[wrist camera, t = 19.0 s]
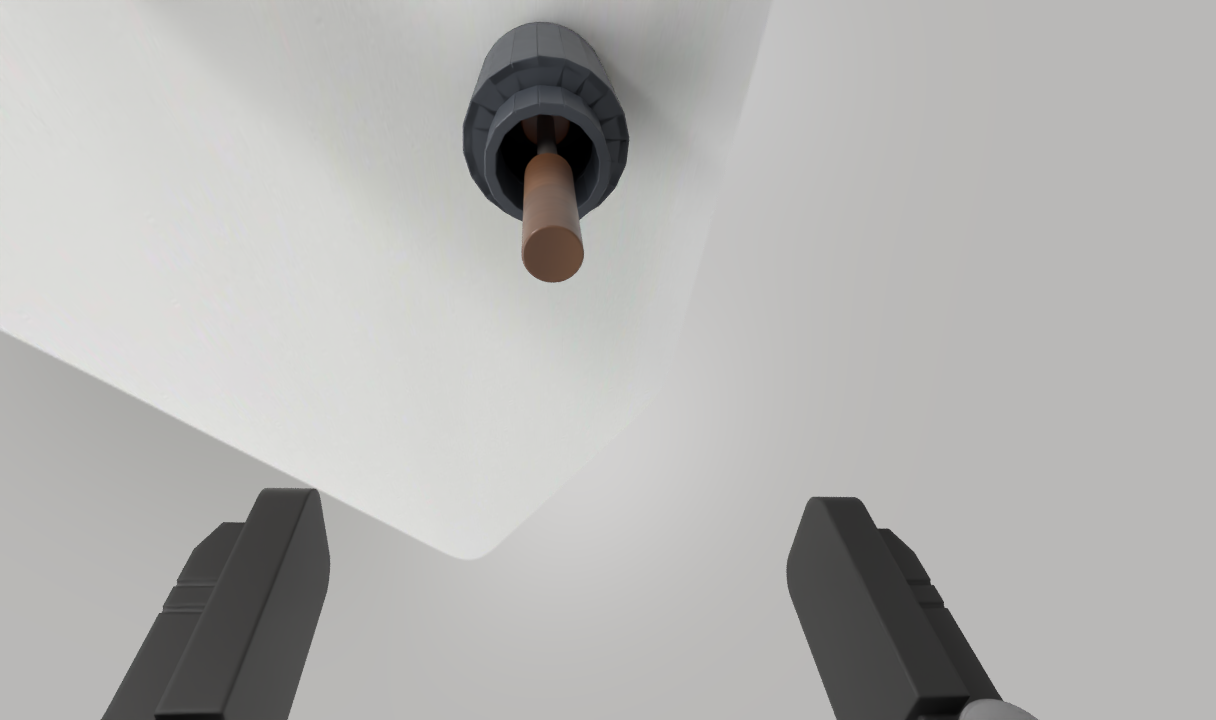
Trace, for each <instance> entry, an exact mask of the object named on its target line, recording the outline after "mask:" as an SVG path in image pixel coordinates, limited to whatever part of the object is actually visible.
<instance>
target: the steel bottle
mask: <svg viewBox="0 0 1216 720" xmlns="http://www.w3.org/2000/svg"><path fill="white" fill-rule="evenodd" d="M540 114H542V115H553V116H562V117H564V118H566V119H568V120H570V128H569V131H568V134H567V135H566V137H565V138H564V139H563V140H562V141H561V142H560V143H558V144H557V145H556V146H557V155H559V156H561V157H562V158H564V159H565V160H566V161H567V163H568V164H569V166H570V167H571V170H572V175H573V181H574V188H575V195H576V202H577V208H578V215H579V220H580V219H581V218H582V217H583V216H585V215H586V214H587V213H588V212H590V211H591V210H593V209H595V208H596V207H598V206H599V205H600V204H601V203H602V202H603V201H604V200H605V199H606V198H607V197H608V195H609V194H610V193H611V192H612V191H613V190H614V189H615V187H616V186H617V184H618V181H619V179H620V177H621V175H622V173H623V170H624V168H625V166H626V162H627V153H628V145H629V135H628V130H627V124H626V119H625V114H624V111H623V109H622V107H621V105H620V103H619V100H618V98H617V96H616V94H615V92H614V90H613V87H612V85H611V83H610V81H609V79H608V76H607V74H606V72H605V70H604V68H603V66H602V64H601V62H600V60H599V59H598V57H597V55H596V53H595V51H594V50H593V48H592V47H591V46H590V45H589V44H588V43H587V42H586V41H585V40H584V39H583V38H582V37H581V36H579V35H578V34H576V33H575V32H574V31H572V30H570V29H568V28H566V27H563V26H560V25H557V24H553V23H547V22H536V23H529V24H525V25H521V26H519V27H517V28H514V29H513V30H511V31H509V32H508V33H506V34H505V35H504V36H502V37H501V38H500V39H499V40H498V41H497V42H496V43H495V44H494V46H493V47H492V49H491V50H490V52H489V53H488V55H487V56H486V58H485V61H484V64H483V67H482V69H481V72H480V75H479V78H478V81H477V84H476V87H475V90H474V93H473V95H472V98H471V101H470V104H469V107H468V110H467V114H466V117H465V120H464V123H463V151H464V152H463V153H464V156H465V159H466V162H467V165H468V168H469V171H470V175H471V176H472V179H473V180H474V181H475V183H476V184H477V186H478V187H479V188H480V190H481V191H482V193H483V194H484V195H485V197H487V199H488V200H490V201H491V202H492V203H494V204H495V205H496V206H497V207H499V208H500V209H501V210H503V211H504V212H505V213H507V214H509V215H511V216H512V217H514V218H516V219H518V220H521V221H523V201H524V175H525V169H526V167H527V165H528V163H529V162H530V161H531V160H532V159H533V158H534V157H536V156H537V145H536V144H534V143H532V142H531V141H530V140H529V139H528V138H527V137H526V136H525V134H524V132H523V130H522V127H521V121H522V120H525V119H528V118H531V117H534V116H537V115H540Z"/></svg>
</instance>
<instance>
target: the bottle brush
mask: <svg viewBox="0 0 1216 720" xmlns="http://www.w3.org/2000/svg"><path fill="white" fill-rule="evenodd" d="M521 127H522V130H523V132H524V134H525V136H526V137H527V138H528V139H529V140H530V141H531V142H532V143H534V144H536V145H537V156H536V157H534V158H533V159H532V160H531V161H530V162H529V163H528V165H527V167H526V169H525V175H524V201H523V228H522V260H523V264H524V266H525V267H526V269H527V270H528V272H529V273H530V274H531V275H533V276H534V277H536V278H537V279H539V280H542V281H545V282H561V281H564V280H567V279H568V278H570V277H572V276H573V275H574V274H575V273H576V272H577V271H578V270H579V268H580V267H581V265H582V262H583V258H584V249H583V242H582V235H581V229H580V222H579V215H578V208H577V202H576V195H575V188H574V181H573V175H572V170H571V167H570V166H569V164H568V163H567V161H566V160H565V159H564V158H562V157H561V156H559V155H557V146H556V145H557V144H558V143H560V142H561V141H562V140H563V139H564V138H565V137H566V135H567V134H568V131H569V128H570V120H568V119H566V118H564V117H562V116H553V115H542V114H540V115H537V116H534V117H531V118H528V119H525V120H522V121H521Z"/></svg>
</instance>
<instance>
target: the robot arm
mask: <svg viewBox="0 0 1216 720" xmlns="http://www.w3.org/2000/svg"><path fill="white" fill-rule="evenodd" d="M329 573H330V555H329V549H328V542H327V536H326V530H325V524H324V518H323V512H322V506H321V500H320V495H319V492H318V491H317V489H301V488H300V489H299V488H297V489H296V488H295V489H294V488H265V489H263V490H262V491H261V493H260V494H259V496H258V498H257V499H256V502H255V504H254V506H253V508H252V510H251V512H250V514H249V516H248V518H247V520H246V522H245V523H233V522H231V523H230V522H223V523H222V524H221V525H220V526H219V527H218V528H216V529H215V530H214V531H213V532H212V533H211V534H210V535H209V536H208V537H207V538H206V539H204V540H203V541H202V542H201V543H200V544H199V545H198V546H197V547H196V548H195V549H194V550H193V552H192V554H191V555H190V557H189V559H188V561H187V563H186V565H185V566H184V568H183V570H182V572H181V574H180V576H179V578H178V579H177V585H176V587H173V589H172V591H171V592H170V594H169V596H168V598H167V600H166V602H165V603H164V605H163V611H162V613H159V615H158V617H157V618H156V620H155V622H154V624H153V626H152V628H151V629H150V631H149V633H148V635H147V637H146V639H145V640H144V642H143V644H142V646H141V648H140V650H139V652H138V653H137V655H136V657H135V659H134V661H133V663H132V665H131V666H130V668H129V670H128V672H127V674H126V676H125V677H124V679H123V681H122V683H121V685H120V687H119V688H118V690H117V692H116V694H115V696H114V698H113V700H112V702H111V704H110V705H109V707H108V709H107V711H106V713H105V714H104V716H103V717H102V719H101V720H287V719H288V716H289V713H290V709H291V707H292V703H293V700H294V697H295V694H296V690H297V687H298V684H299V680H300V677H301V674H302V671H303V668H304V665H305V661H306V658H307V655H308V652H309V648H310V645H311V642H312V639H313V635H314V632H315V629H316V626H317V623H318V619H319V616H320V613H321V610H322V606H323V603H324V600H325V596H326V593H327V588H328V583H329ZM787 584H788V589H789V593H790V596H791V599H792V601H793V604H794V607H795V610H796V612H797V615H798V618H799V620H800V623H801V625H802V628H803V631H804V634H805V636H806V639H807V642H808V644H809V647H810V649H811V652H812V655H813V658H814V660H815V663H816V666H817V668H818V671H819V673H820V676H821V679H822V682H823V684H824V687H825V690H826V692H827V695H828V698H829V700H830V703H831V706H832V708H833V711H834V714H835V716H836V718H837V720H1038V719H1037V718H1035V717H1034V716H1032V715H1031V714H1030V713H1028V712H1026V711H1025V710H1023V709H1021V708H1019V707H1017V706H1015V705H1012V704H1010V703H1007V702H1004V701H1003V700H1002V698H1001V697H1000V695H999V694H998V692H997V690H996V689H995V687H994V686H993V684H992V682H991V680H990V679H989V677H988V675H987V674H986V672H985V670H984V669H983V667H982V665H981V664H980V662H979V660H978V659H977V657H976V655H975V653H974V652H973V650H972V649H971V647H970V645H969V643H968V642H967V640H966V638H965V637H964V635H963V633H962V632H961V630H960V628H959V627H958V625H957V624H956V622H955V620H954V618H953V617H952V615H951V613H950V612H949V610H948V609H947V608H944V602H943V600H942V598H941V596H940V595H939V593H938V591H937V590H936V588H935V586H934V585H931V583H930V578H929V576H928V575H927V573H926V571H925V569H924V568H923V566H922V565H921V563H920V561H919V559H918V558H917V556H916V554H915V553H914V552H913V551H912V550H911V549H910V548H909V547H908V546H907V545H906V544H905V543H904V542H903V541H901V540H900V539H899V538H898V537H897V536H896V535H895V534H894V533H893V532H892V531H891V530H890V529H877V527H876V525H875V524H874V522H873V520H872V518H871V517H870V515H869V513H868V511H867V509H866V508H865V506H864V504H863V503H862V502H861V501H860V500H859V499H858V498H855V497H812V498H811V499H810V500H809V501H808V503H807V505H806V507H805V510H804V513H803V516H802V519H801V522H800V525H799V527H798V530H797V533H796V536H795V539H794V542H793V545H792V547H791V550H790V553H789V556H788V560H787Z"/></svg>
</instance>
